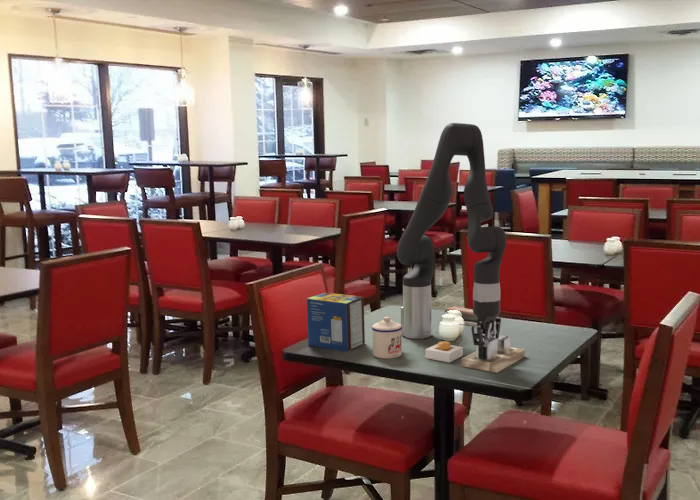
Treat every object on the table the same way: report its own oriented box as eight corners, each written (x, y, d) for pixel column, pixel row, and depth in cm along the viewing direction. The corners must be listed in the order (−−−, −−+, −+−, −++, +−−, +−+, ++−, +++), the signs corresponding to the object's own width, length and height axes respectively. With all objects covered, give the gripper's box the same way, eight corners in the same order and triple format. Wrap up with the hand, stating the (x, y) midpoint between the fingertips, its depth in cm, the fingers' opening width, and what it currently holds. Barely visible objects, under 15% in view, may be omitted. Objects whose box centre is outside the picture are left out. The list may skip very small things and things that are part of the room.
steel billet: (476, 360, 203) (476, 339, 202) (483, 356, 207) (483, 335, 206) (490, 362, 201) (490, 341, 200) (497, 359, 204) (497, 337, 203)
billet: (490, 357, 210) (490, 337, 210) (497, 354, 214) (497, 333, 213) (504, 360, 208) (504, 339, 207) (510, 356, 211) (510, 336, 210)
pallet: (461, 367, 204) (461, 358, 203) (490, 351, 218) (490, 343, 217) (497, 373, 197) (497, 365, 197) (524, 357, 211) (524, 349, 211)
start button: (435, 350, 212) (435, 343, 212) (441, 347, 215) (441, 340, 215) (446, 351, 210) (446, 345, 210) (452, 348, 213) (452, 342, 212)
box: (425, 359, 212) (425, 349, 212) (439, 352, 218) (439, 343, 218) (449, 363, 207) (449, 353, 207) (462, 356, 213) (462, 347, 213)
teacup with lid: (391, 361, 211) (391, 322, 209) (366, 356, 216) (365, 318, 215) (413, 351, 221) (412, 314, 219) (388, 346, 226) (387, 310, 224)
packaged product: (440, 308, 257) (456, 303, 264) (440, 322, 257) (456, 316, 265) (484, 315, 245) (499, 310, 252) (484, 329, 245) (499, 323, 253)
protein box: (325, 338, 238) (324, 292, 236) (365, 343, 230) (364, 296, 228) (307, 345, 230) (305, 298, 227) (347, 352, 221) (346, 302, 219)
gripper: (486, 291, 209) (486, 349, 211) (462, 301, 198) (462, 361, 200) (510, 294, 204) (509, 353, 207) (487, 304, 193) (486, 365, 196)
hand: (486, 356), depth 203 cm, fingers closed on steel billet, 4 cm apart
